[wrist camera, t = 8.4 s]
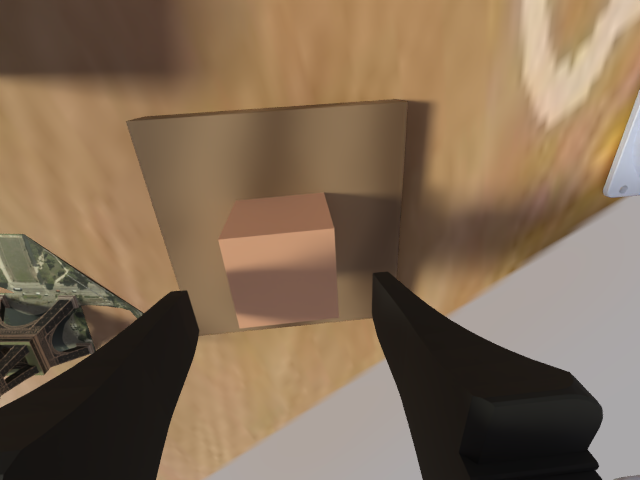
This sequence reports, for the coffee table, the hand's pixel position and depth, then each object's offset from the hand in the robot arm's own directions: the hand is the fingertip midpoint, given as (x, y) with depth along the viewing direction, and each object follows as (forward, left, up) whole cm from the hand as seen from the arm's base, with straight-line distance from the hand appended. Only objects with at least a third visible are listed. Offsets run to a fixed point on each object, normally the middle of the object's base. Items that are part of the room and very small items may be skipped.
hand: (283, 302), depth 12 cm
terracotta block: (0, 0, -6) cm, 6 cm away
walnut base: (0, 0, -8) cm, 8 cm away
